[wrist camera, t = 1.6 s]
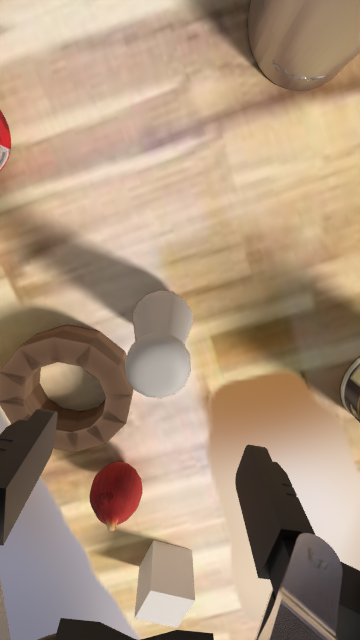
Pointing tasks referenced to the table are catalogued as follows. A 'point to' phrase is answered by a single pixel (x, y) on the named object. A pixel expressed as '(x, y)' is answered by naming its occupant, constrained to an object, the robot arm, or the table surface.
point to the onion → (115, 493)
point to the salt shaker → (160, 345)
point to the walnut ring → (77, 349)
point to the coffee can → (352, 390)
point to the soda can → (4, 141)
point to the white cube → (165, 585)
